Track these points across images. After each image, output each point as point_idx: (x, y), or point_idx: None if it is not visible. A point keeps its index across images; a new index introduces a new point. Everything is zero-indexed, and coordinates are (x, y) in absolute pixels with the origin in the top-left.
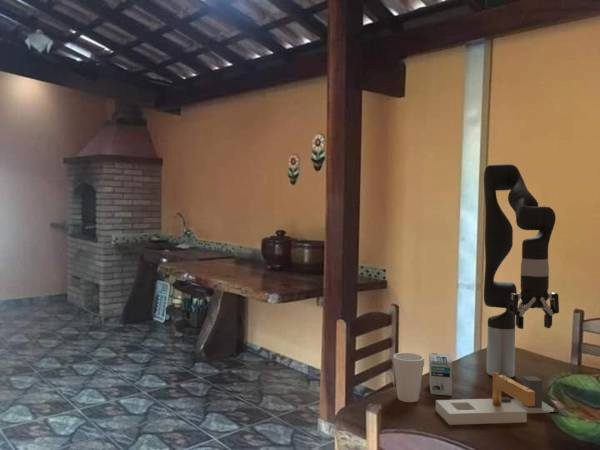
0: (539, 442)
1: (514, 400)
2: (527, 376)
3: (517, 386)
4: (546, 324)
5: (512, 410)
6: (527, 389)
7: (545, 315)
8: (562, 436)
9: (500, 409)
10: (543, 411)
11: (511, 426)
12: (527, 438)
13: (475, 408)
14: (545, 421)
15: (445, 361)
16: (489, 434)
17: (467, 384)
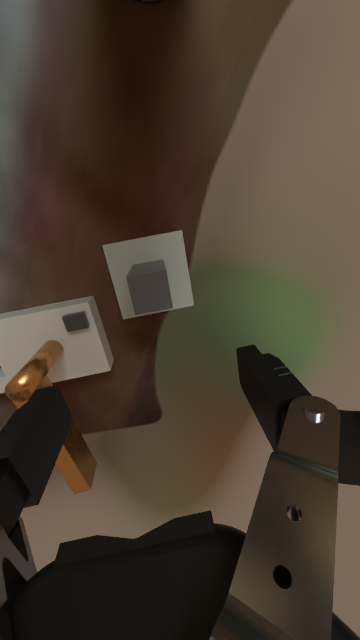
0: (112, 424)
1: (119, 251)
2: (142, 276)
3: (58, 469)
4: (244, 380)
5: (82, 370)
6: (77, 480)
7: (271, 414)
8: (156, 401)
9: (58, 368)
10: (163, 311)
11: (81, 379)
12: (97, 415)
13: (4, 371)
14: (151, 350)
15: None
16: None
17: (2, 99)
